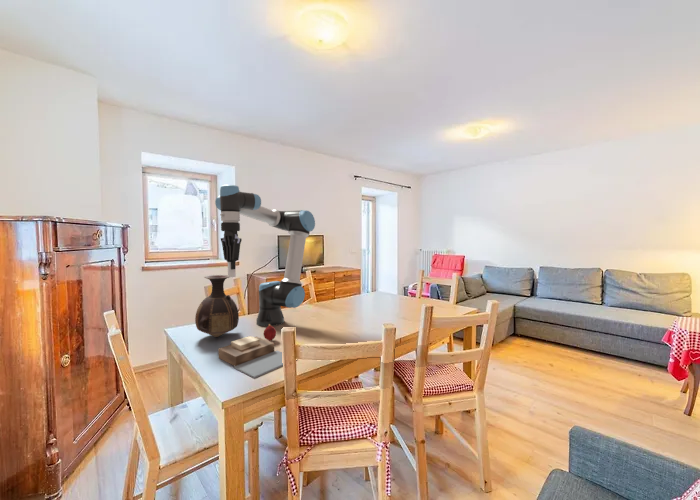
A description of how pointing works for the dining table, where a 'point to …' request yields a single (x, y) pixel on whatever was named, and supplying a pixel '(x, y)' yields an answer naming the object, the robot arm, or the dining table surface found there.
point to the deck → (245, 352)
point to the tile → (245, 342)
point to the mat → (261, 364)
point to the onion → (269, 333)
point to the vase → (217, 310)
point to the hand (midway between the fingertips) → (231, 276)
